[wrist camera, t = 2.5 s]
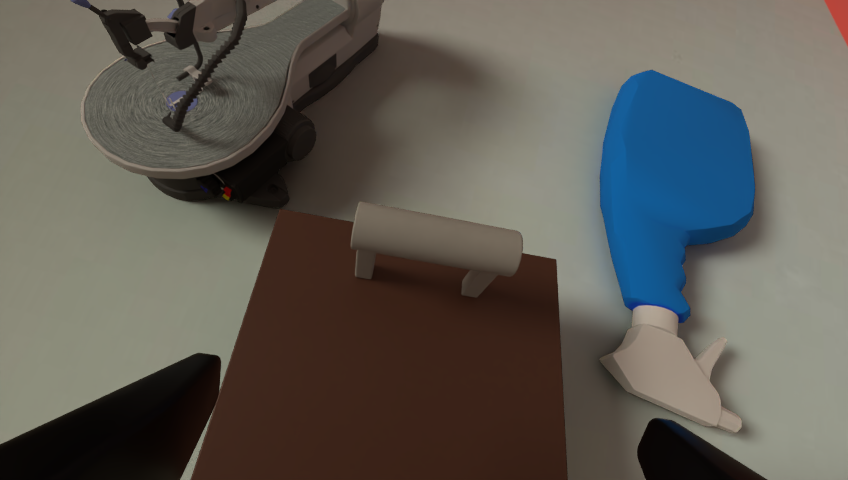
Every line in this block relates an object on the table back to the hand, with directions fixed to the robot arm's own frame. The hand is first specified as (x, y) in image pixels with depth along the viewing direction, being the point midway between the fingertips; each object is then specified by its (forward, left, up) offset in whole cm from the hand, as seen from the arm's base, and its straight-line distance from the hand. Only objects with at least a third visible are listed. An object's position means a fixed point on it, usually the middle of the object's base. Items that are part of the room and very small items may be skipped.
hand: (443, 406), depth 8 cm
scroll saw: (+20, +7, -13) cm, 25 cm away
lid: (+2, 0, -8) cm, 8 cm away
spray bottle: (+11, -19, -13) cm, 26 cm away
